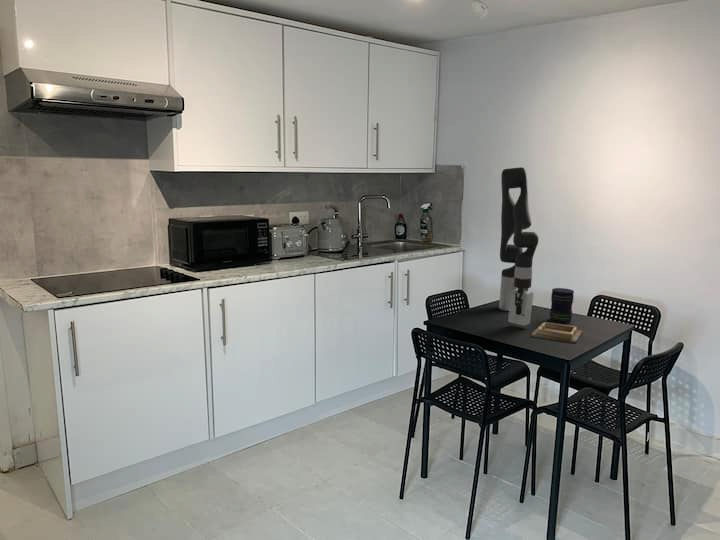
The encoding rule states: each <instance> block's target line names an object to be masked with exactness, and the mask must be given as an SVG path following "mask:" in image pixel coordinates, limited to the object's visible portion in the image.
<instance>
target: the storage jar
mask: <svg viewBox="0 0 720 540" xmlns="http://www.w3.org/2000/svg"><path fill="white" fill-rule="evenodd" d="M574 293H575V291H574V290H573V289H570V288H564V287H562V288H561V287H556V288H555V287H554V288H552V290H551V297H550V298H551V299H550V301H551V305H550V310H549V311H550V312H549V321H550V322H551V321H553V322H552V323H554V322H557V323H556V324H560V323H568V324H571V323H572V317H573V310H572V308H573V303H574V299H575V298H574ZM570 322H571V323H570Z"/></svg>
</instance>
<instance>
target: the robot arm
mask: <svg viewBox="0 0 720 540" xmlns="http://www.w3.org/2000/svg"><path fill="white" fill-rule="evenodd" d="M527 174H528V173H527V171H526V168H524V167H511V168H505V169H502V172H501V176H500V177H501V179H500V181H501V200H502V201H501V215H500V217H501V221H500V223H501V234H500V249H499V259H500V261H501V263H502V262H503V263H508V264H514V265H513V266H511V267H509V268H508V267H507V268H504V269H502V271H501V277H500V278H501V279H500V289H499V290H500V294H499V304H498V305H499V307H498V308H499V310H502V311H508V312H509V309H510V301H511V292H512V290H515V289H518V292H517V293H515V306H516V314H517V315H521V309H522V302H523V299H522V300H521V297H522V295H523V292H524V291H529V289H530V288H532V282H533V281H532V279H533V259H534V256H535V252H536V250H537V247H538V245H539V236H538V234H537V233H536V232H535V231H523V230H526V229H529V228H530V227H531V226H532V220H531V214H530V207H529V189H528V175H527ZM519 188H520V192H519V193H520V194H519V196H518V199H517V200H516V201H515V200H514V198H513V197H512V195H511V192H510V189H512V190H513V189H519ZM512 236H513V239H512V242H513V244H508V243H509V240H511V238H512ZM524 248H526V249H525V251H523V249H524ZM518 302H520V303H518Z"/></svg>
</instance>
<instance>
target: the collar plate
mask: <svg viewBox="0 0 720 540" xmlns="http://www.w3.org/2000/svg"><path fill="white" fill-rule="evenodd" d="M582 334H583V330H578V326H574V325H568V324H560V323H554V322H546V321H544V322H542V323H541V324H539V326H538V327H537V328H536V329H535V330H534V331H533V332H532V333H531V334H530V336H531V337H533V338H540V339H544V338H545V340H551V339H552V340H553V341H557V340H558V342H564V343H571V344H577V343H578V341H579V339H580V338H581V336H582Z"/></svg>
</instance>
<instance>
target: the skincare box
mask: <svg viewBox="0 0 720 540" xmlns="http://www.w3.org/2000/svg"><path fill="white" fill-rule="evenodd" d="M517 292H518V289H515V290H512V292H511V301H510V309H509V311H508V316H507V317H508V320H507V321H508V323H511V324H516V325H520V326H526V325H530V324H531V317H532V316H531V315H532V310H533V309H532V307H533V300H534V292H532V291H529V290H528V291H524V292H523V295H522V297H521V300H522V299H523V302H522V309H521V315H517V314H516V306H515V293H517ZM518 303H520V302H518Z"/></svg>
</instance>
